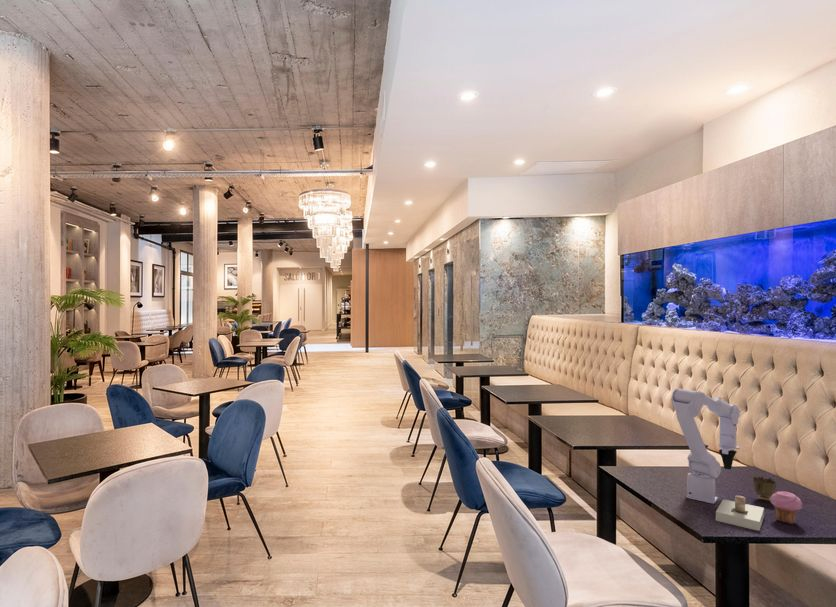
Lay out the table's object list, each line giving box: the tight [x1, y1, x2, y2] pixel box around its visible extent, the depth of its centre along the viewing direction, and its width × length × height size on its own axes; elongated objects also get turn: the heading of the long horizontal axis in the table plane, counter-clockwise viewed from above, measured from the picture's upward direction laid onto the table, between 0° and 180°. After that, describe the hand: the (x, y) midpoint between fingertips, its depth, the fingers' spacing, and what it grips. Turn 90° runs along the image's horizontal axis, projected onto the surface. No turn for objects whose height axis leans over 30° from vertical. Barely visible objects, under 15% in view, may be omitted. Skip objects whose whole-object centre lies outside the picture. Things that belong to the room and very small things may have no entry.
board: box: [715, 498, 765, 531], centre depth 176 cm, size 12×16×3 cm
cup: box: [752, 475, 777, 502], centre depth 195 cm, size 8×7×8 cm
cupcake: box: [770, 491, 803, 525], centre depth 175 cm, size 9×9×10 cm
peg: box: [734, 495, 746, 515], centre depth 174 cm, size 3×3×8 cm
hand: (727, 468), depth 201 cm, fingers closed
